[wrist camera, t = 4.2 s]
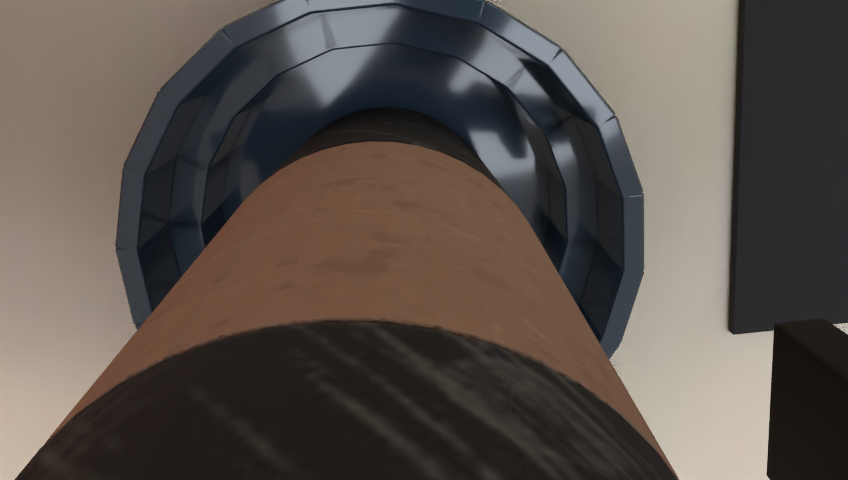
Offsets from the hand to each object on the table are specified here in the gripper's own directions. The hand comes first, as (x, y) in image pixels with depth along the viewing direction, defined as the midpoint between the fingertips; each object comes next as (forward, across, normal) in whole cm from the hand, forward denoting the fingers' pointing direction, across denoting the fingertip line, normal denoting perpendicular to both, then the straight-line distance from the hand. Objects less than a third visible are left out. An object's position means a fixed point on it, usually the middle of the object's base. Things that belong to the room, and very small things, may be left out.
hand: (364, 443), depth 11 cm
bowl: (+14, 0, 0) cm, 14 cm away
